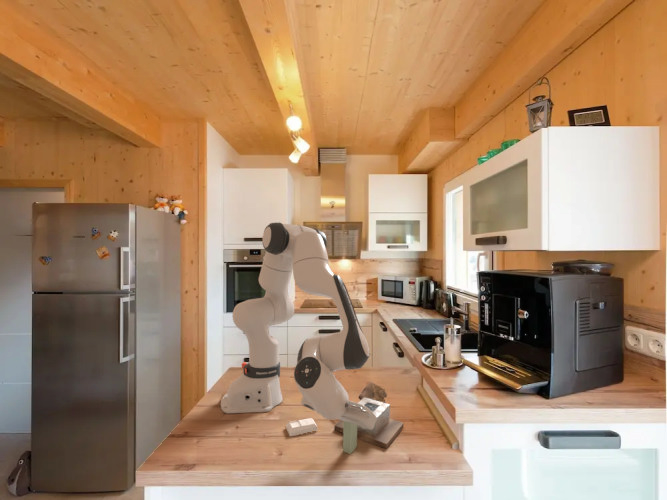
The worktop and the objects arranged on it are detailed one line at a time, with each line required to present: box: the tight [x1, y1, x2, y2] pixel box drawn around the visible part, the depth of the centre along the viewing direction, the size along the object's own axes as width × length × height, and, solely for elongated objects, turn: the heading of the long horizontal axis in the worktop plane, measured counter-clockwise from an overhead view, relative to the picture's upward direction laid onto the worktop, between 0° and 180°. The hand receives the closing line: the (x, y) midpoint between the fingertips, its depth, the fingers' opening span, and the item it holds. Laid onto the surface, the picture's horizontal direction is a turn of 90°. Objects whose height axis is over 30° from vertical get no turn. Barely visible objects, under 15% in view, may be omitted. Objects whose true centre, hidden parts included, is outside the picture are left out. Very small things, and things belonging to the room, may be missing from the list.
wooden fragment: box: [358, 381, 388, 403], centre depth 133 cm, size 26×11×1 cm, turn 172°
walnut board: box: [334, 418, 404, 450], centre depth 109 cm, size 18×14×2 cm
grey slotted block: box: [357, 397, 391, 437], centre depth 109 cm, size 9×11×6 cm
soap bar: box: [285, 417, 319, 437], centre depth 108 cm, size 5×9×3 cm, turn 111°
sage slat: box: [342, 421, 358, 455], centre depth 98 cm, size 2×4×12 cm, turn 148°
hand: (348, 420), depth 97 cm, fingers open, 8 cm apart
